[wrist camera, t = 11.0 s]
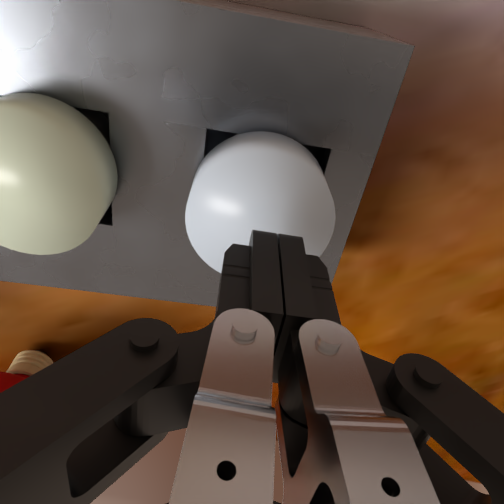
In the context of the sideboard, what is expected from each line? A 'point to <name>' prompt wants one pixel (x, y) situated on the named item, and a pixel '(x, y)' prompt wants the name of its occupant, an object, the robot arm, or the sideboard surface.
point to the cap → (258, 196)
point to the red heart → (24, 367)
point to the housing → (193, 119)
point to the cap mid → (52, 173)
